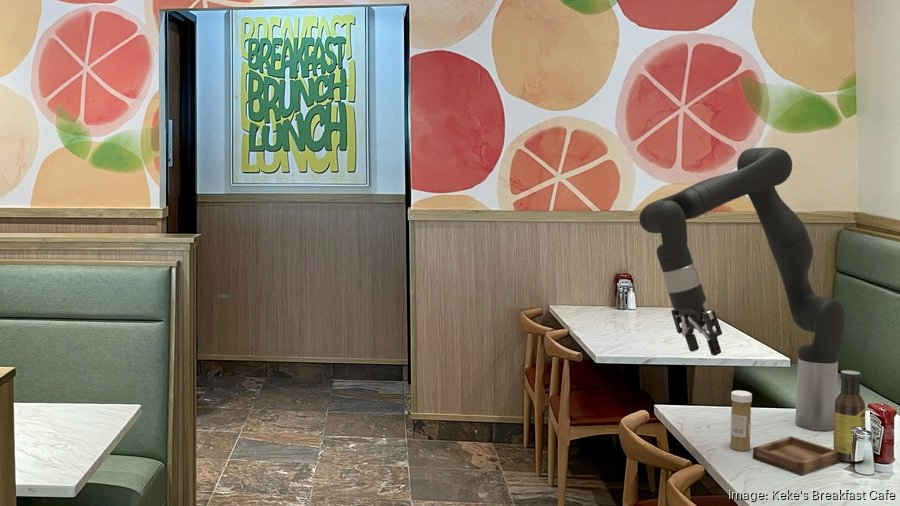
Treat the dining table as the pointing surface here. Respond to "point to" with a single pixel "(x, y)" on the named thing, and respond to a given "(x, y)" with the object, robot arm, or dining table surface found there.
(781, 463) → the tray
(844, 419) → the sauce bottle
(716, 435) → the dining table surface
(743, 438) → the sprinkles bottle
